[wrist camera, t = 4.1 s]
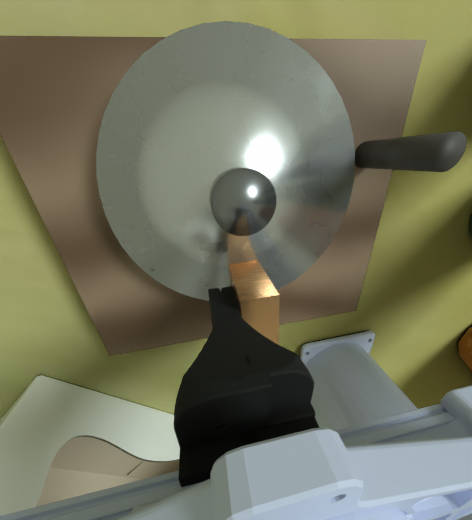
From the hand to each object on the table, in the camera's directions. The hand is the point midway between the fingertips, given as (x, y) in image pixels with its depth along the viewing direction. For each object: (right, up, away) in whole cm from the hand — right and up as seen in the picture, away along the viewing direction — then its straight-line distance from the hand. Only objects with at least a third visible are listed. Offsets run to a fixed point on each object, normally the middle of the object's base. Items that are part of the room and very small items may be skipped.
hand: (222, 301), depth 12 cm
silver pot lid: (+1, +5, -1) cm, 5 cm away
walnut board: (+1, +5, +1) cm, 5 cm away
